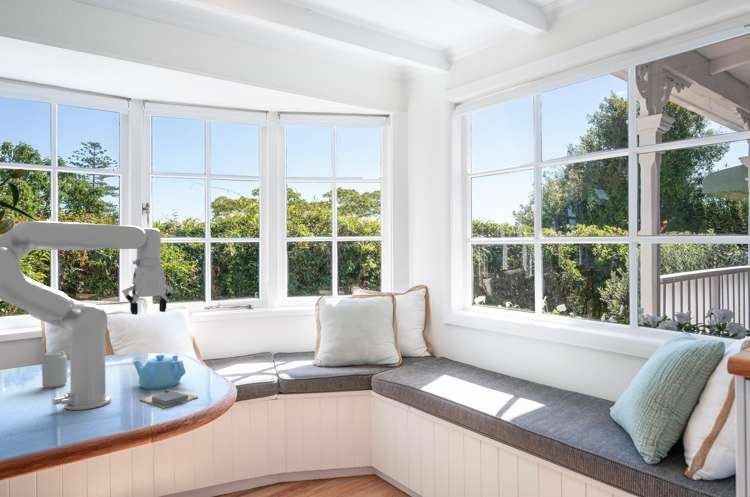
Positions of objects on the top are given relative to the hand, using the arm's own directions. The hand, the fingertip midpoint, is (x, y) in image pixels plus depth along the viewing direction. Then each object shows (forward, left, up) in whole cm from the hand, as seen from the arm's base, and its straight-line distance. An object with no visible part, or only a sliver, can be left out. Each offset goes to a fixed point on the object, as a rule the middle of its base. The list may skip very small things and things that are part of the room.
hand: (148, 312), depth 167 cm
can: (-16, +34, -27) cm, 46 cm away
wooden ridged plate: (-2, -16, -27) cm, 31 cm away
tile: (-1, -19, -26) cm, 32 cm away
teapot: (+6, +3, -27) cm, 28 cm away
